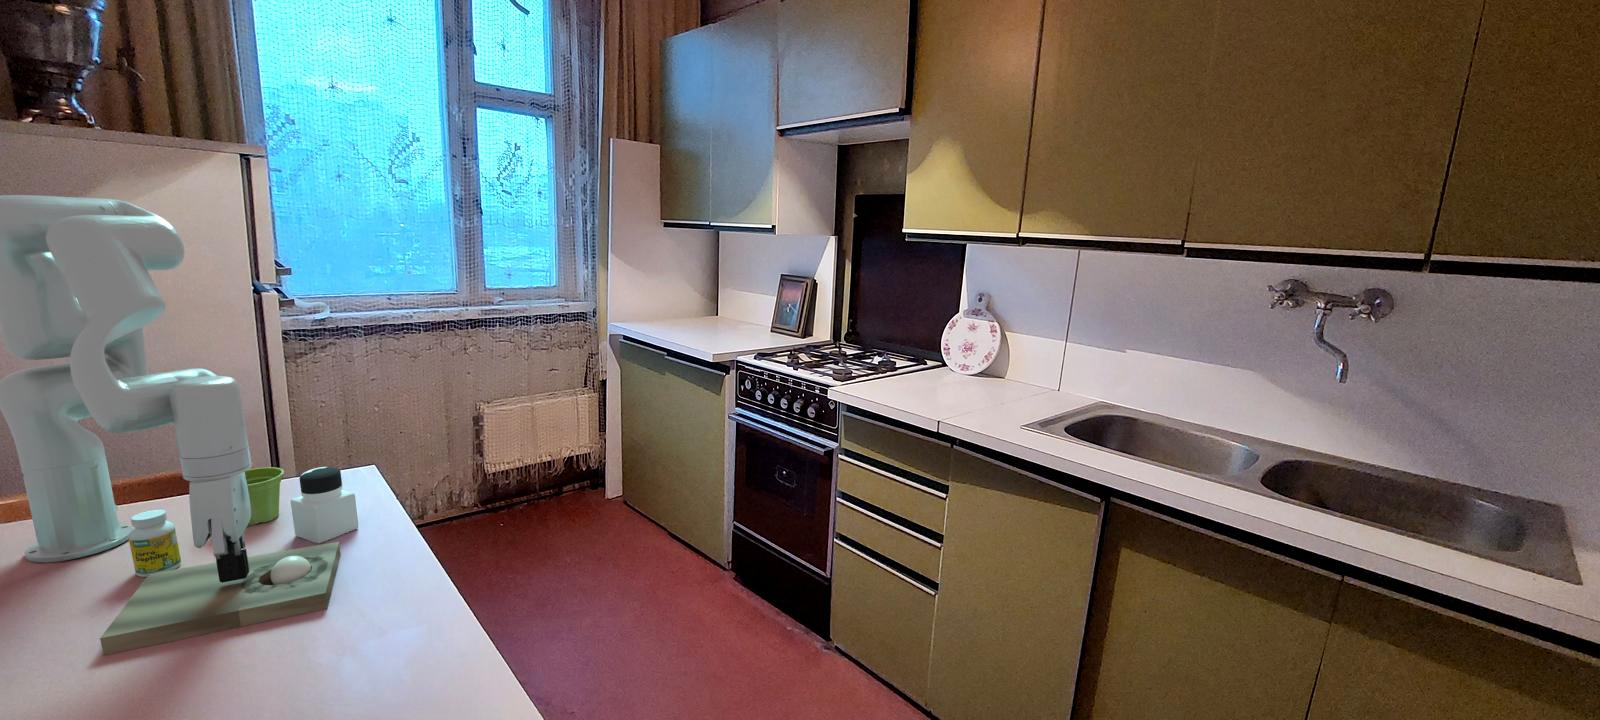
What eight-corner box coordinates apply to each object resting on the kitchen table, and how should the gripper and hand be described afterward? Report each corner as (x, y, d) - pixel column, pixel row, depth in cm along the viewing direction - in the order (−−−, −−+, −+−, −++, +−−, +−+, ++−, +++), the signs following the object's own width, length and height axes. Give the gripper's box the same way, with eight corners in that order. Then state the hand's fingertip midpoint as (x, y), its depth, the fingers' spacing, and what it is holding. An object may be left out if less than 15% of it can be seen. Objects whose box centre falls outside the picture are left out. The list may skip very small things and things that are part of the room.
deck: (152, 588, 101) (149, 573, 101) (340, 554, 113) (339, 541, 112) (103, 655, 86) (99, 638, 85) (327, 608, 97) (325, 592, 97)
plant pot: (262, 531, 120) (256, 486, 119) (212, 529, 121) (204, 484, 119) (301, 509, 130) (296, 467, 128) (254, 508, 130) (248, 466, 128)
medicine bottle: (359, 528, 122) (352, 467, 120) (318, 544, 116) (310, 480, 114) (335, 520, 125) (328, 461, 123) (294, 536, 119) (286, 473, 117)
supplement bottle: (184, 558, 110) (175, 504, 108) (177, 572, 106) (168, 517, 104) (140, 566, 107) (130, 511, 105) (131, 581, 103) (120, 524, 101)
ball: (268, 597, 100) (262, 566, 102) (306, 589, 105) (300, 559, 106) (281, 585, 98) (275, 554, 100) (319, 578, 103) (313, 547, 104)
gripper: (197, 450, 100) (215, 561, 103) (164, 484, 87) (186, 609, 90) (260, 443, 103) (275, 551, 107) (237, 475, 90) (255, 596, 94)
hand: (234, 577), depth 99 cm, fingers closed
